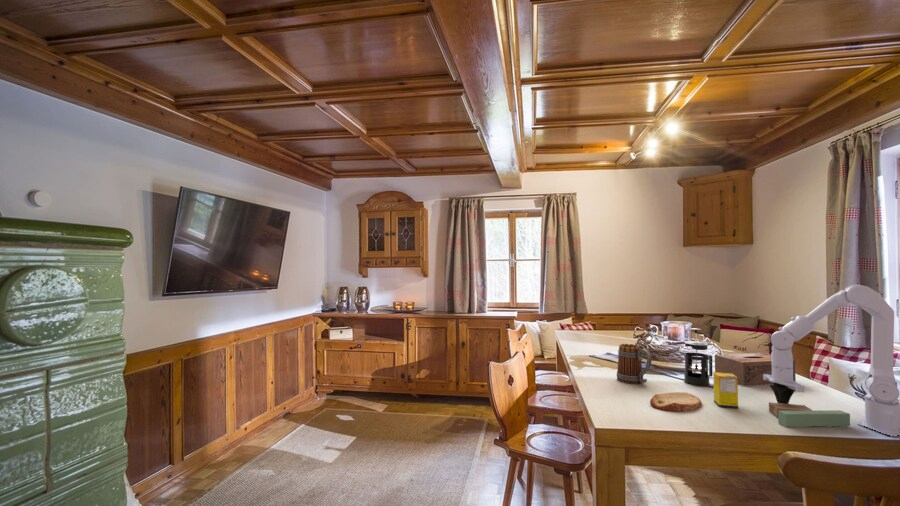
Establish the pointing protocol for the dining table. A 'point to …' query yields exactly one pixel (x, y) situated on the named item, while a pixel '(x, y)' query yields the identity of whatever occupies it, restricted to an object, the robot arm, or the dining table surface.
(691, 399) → the bread slice
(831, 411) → the rail
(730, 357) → the tissue box cover
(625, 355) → the mug
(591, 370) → the dining table surface
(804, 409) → the slab
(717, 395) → the supplement box
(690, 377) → the french press
